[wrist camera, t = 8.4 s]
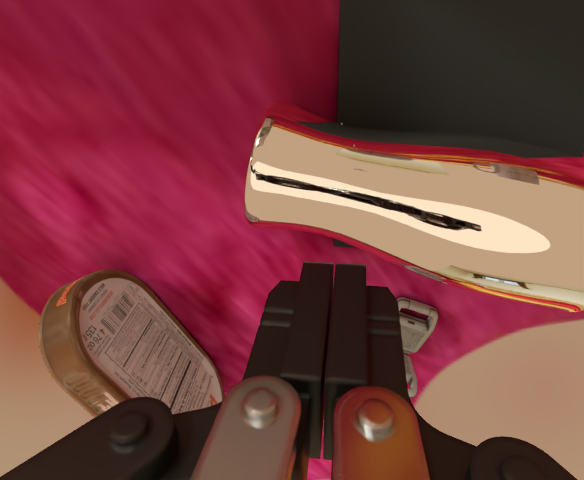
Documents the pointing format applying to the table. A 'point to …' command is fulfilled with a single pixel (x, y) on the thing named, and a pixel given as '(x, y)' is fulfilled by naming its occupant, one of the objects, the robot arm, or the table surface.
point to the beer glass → (428, 202)
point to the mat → (465, 69)
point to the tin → (123, 347)
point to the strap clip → (414, 334)
